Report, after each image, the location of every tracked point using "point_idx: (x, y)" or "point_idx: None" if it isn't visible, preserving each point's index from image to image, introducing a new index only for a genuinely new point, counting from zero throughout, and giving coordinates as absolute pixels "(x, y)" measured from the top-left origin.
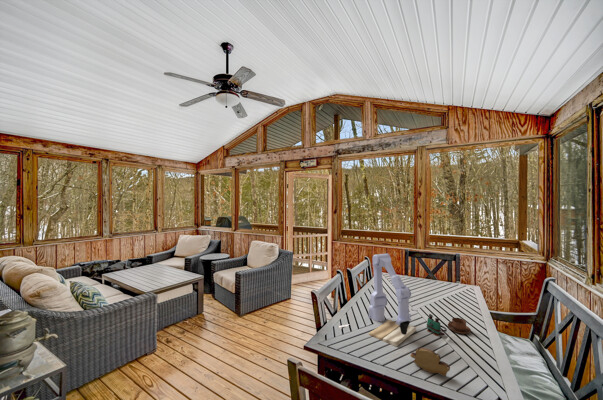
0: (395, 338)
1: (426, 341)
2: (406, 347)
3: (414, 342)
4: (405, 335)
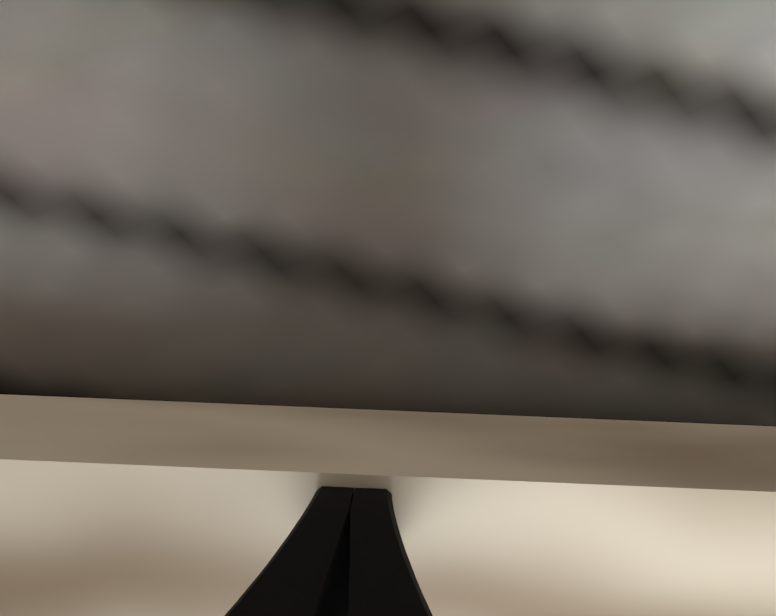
0: (739, 581)
1: (29, 9)
2: (667, 277)
3: (319, 225)
4: (408, 466)
